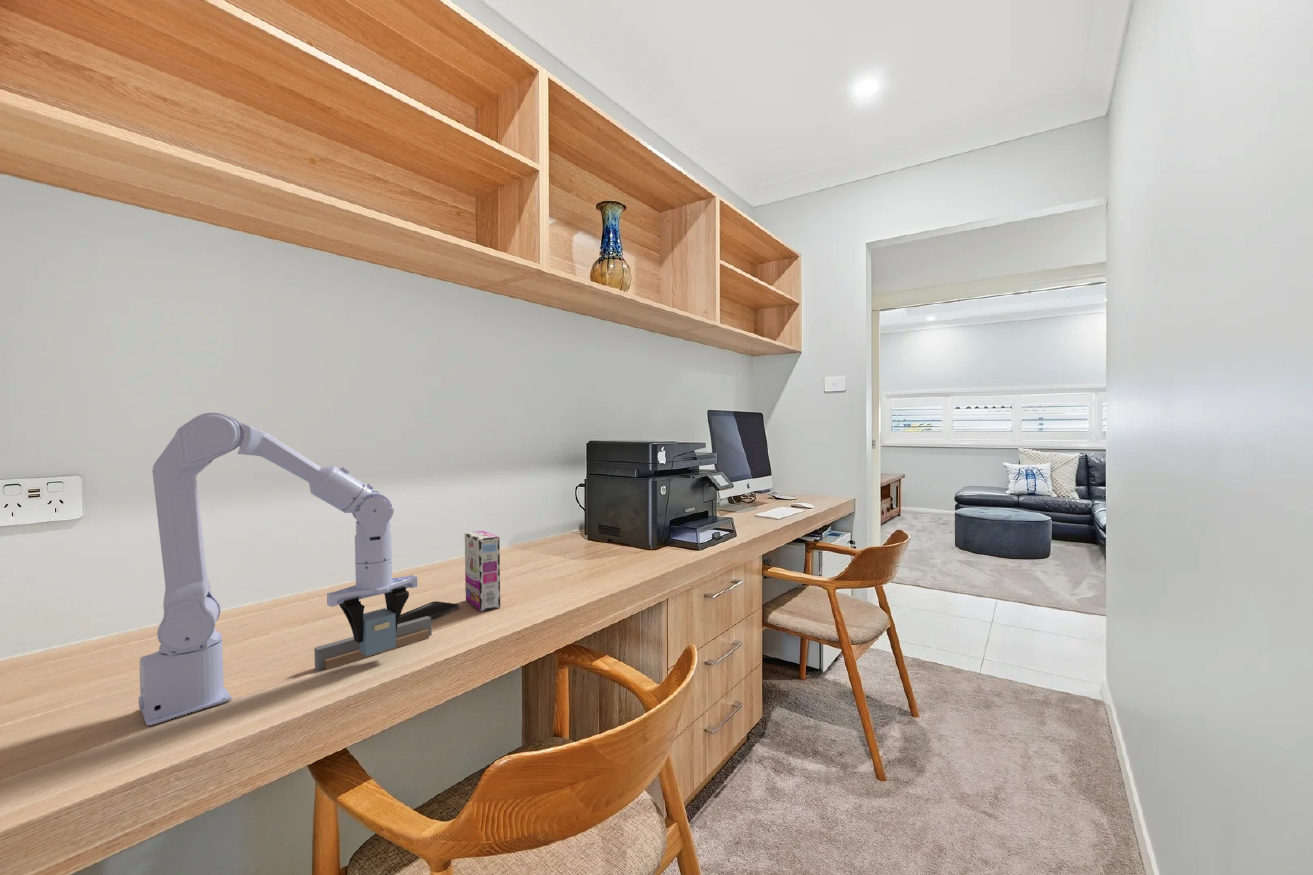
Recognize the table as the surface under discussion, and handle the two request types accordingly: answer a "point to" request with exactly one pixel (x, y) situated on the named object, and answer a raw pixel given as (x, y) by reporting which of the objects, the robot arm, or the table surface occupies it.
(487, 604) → the candy bar box
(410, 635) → the grey and brown bar
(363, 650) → the cabinet
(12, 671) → the table surface
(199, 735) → the table surface
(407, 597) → the robot arm
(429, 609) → the phone
